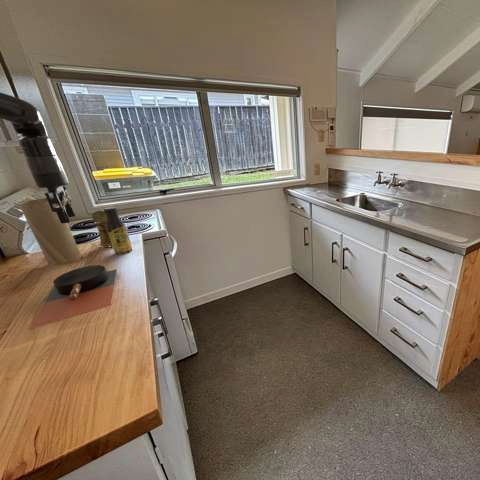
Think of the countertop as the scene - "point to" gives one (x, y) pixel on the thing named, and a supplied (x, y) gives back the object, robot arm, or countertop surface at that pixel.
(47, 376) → the countertop surface
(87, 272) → the pan
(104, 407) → the countertop surface
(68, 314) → the board
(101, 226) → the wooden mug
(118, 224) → the sauce bottle
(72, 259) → the tube
